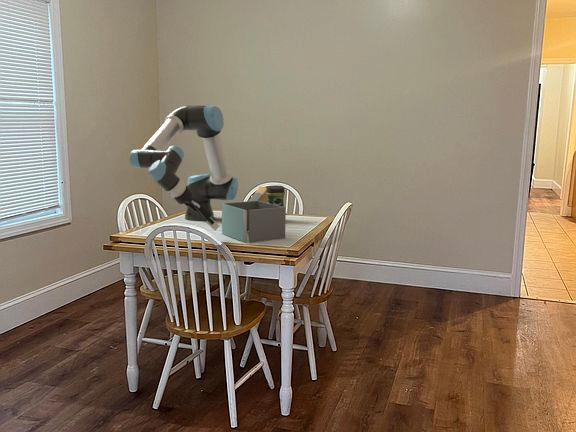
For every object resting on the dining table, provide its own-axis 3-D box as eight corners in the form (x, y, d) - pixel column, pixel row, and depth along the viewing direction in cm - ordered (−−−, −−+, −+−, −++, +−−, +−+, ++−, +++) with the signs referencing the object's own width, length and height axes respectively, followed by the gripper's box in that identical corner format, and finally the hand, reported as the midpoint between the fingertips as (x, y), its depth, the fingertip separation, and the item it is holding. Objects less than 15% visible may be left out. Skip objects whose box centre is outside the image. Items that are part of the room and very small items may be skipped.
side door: (244, 242, 235) (244, 210, 232) (222, 233, 252) (221, 204, 250) (247, 241, 235) (247, 210, 233) (224, 233, 253) (224, 204, 250)
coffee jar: (281, 219, 294) (281, 184, 291) (286, 221, 287) (286, 186, 284) (264, 219, 291) (264, 184, 288) (268, 222, 284) (269, 186, 281)
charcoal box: (249, 242, 235) (250, 210, 232) (224, 233, 254) (223, 203, 252) (285, 238, 245) (285, 207, 242) (257, 229, 264) (257, 200, 262)
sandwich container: (236, 214, 308) (236, 187, 306) (259, 212, 317) (259, 186, 315) (244, 216, 302) (244, 189, 299) (268, 214, 311) (268, 187, 308)
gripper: (168, 196, 232) (204, 232, 243) (180, 200, 221) (218, 237, 233) (179, 183, 234) (215, 219, 245) (192, 186, 223) (229, 223, 235)
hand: (216, 227), depth 239 cm, fingers closed
